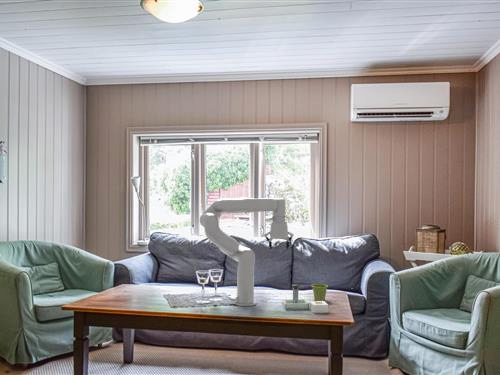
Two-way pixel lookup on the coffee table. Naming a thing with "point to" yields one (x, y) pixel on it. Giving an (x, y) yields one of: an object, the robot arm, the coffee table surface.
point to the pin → (295, 293)
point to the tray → (295, 304)
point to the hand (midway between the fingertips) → (278, 248)
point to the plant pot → (319, 291)
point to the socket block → (318, 306)
